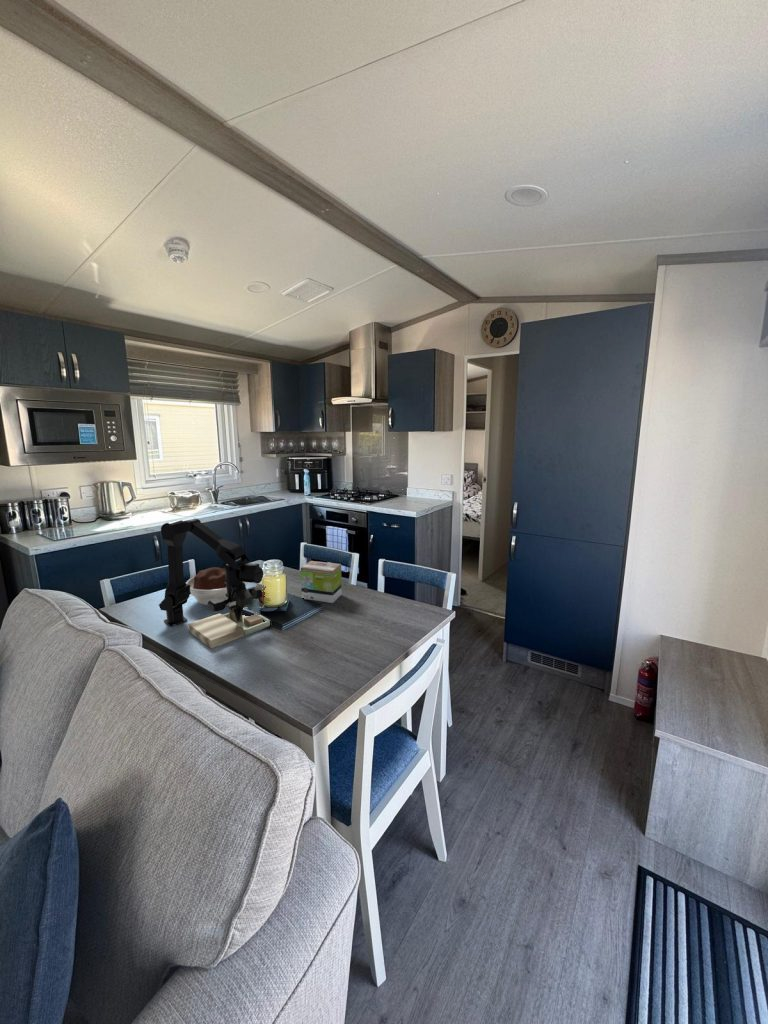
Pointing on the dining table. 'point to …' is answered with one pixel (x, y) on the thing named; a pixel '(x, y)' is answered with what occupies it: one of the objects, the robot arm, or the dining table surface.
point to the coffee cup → (261, 600)
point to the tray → (254, 628)
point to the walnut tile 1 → (234, 618)
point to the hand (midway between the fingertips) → (237, 620)
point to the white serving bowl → (209, 585)
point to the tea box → (321, 581)
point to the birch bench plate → (216, 630)
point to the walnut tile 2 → (253, 620)
